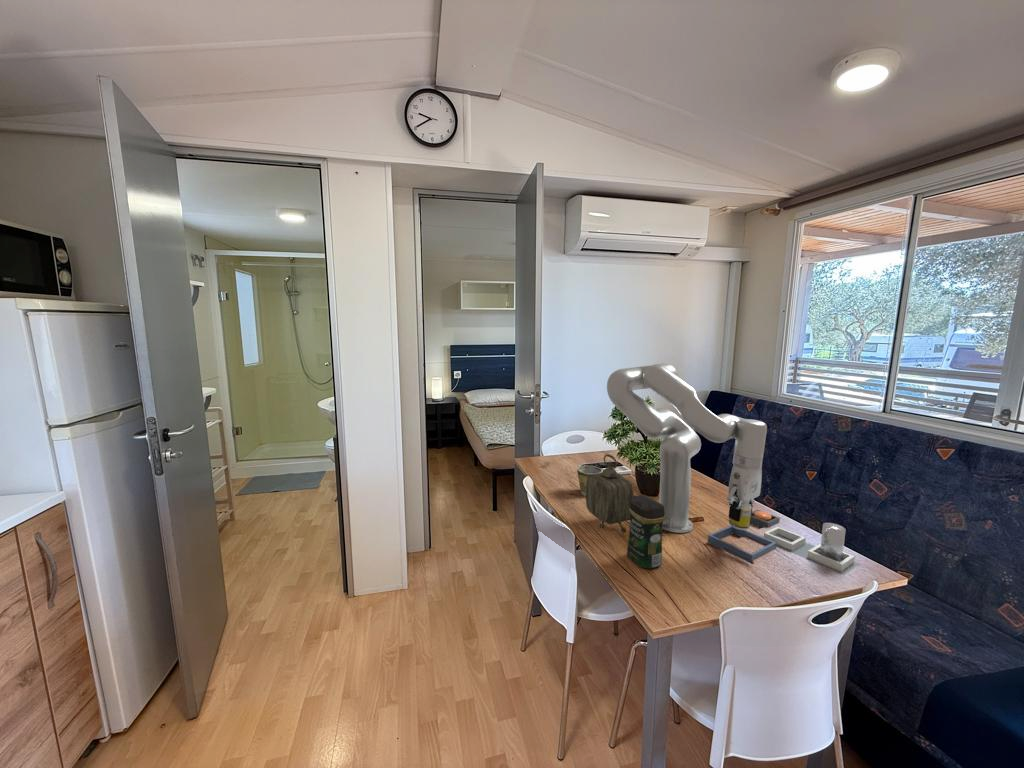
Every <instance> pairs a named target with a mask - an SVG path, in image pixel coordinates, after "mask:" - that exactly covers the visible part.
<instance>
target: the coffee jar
mask: <svg viewBox="0 0 1024 768" xmlns="http://www.w3.org/2000/svg"><path fill="white" fill-rule="evenodd" d="M629 511H630V520H629V530H628V531H629V532H628V540H627V550H626V554H627V557H629V559H631V560H632V562H633V563H635V564H636V565H638V567H640V568H642V569H650V570H651V569H656V568H659V567H660V566H661V565H662V564H663V543H662V542H663V529H662V525H663V521H664V518H665V510H664V506H663V505H662V504H660V503H659V501H657V500H656V499H654V498H651V497H650V496H647V495H646V494H637V495H633V497H632V498H631V500H630V506H629Z"/></svg>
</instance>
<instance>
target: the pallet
mask: <svg viewBox="0 0 1024 768" xmlns="http://www.w3.org/2000/svg"><path fill="white" fill-rule="evenodd" d="M761 537H763V538H766V539H768V540H771V541H773V542H775V543H777V544H776V547H778V548H780V549H783V550H785V551H788V552H790V553H792V554H795V555H797V556H799V557H801V558H804V559H806V560H809V561H811V562H814V563H816V564H817V565H820V566H823V567H826V568H828V569H830V570H833V571H834V572H837V573H839V574H841V575H846V574H847V573H849V572H850V571H851V570H853V569H854V568H856V567H857V566H858V565H860V563H859V562H856V561H855V557H856V556H854V555H852V554H851V553H850V554H849V553H847V552H845V551H843V556H842V561H841V562H838V561H835V560H833V559H830V558H828V557H825V556H823V555H820V546H821V542H820V543H819V544H817V545H813V544H811V543H808V542H806V541H807V540H806V539H807V538H806V536H803V535H800V534H798V533H795V532H793V531H789V530H787V529H784V528H782V527H779V526H776V527H774V528H771V529H769V530H767V531H765V532H764V533H763V536H761Z"/></svg>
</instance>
